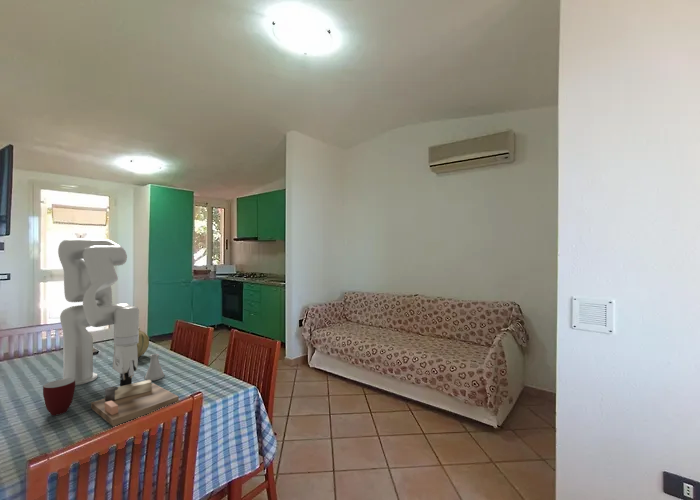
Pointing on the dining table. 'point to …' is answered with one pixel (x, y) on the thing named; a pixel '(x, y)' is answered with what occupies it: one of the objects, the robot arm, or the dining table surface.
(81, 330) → the robot arm
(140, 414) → the stool seat board
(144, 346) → the cantaloupe
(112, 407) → the leg stop
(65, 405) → the mug
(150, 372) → the flask
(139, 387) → the folding leg
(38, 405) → the dining table surface
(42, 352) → the dining table surface
